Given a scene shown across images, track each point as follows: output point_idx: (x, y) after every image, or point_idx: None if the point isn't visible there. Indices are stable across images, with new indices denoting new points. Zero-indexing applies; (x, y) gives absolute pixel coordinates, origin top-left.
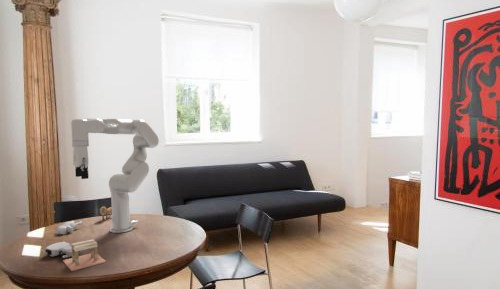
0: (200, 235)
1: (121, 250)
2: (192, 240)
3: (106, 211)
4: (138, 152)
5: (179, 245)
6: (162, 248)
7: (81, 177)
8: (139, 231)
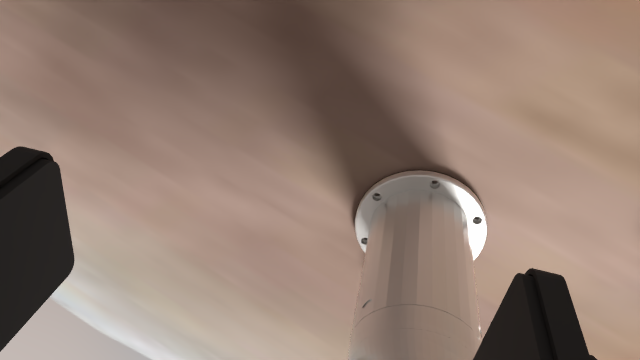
0: (83, 316)
1: (101, 33)
2: None
3: None
4: None
5: None
6: None
7: (8, 162)
8: (313, 247)
